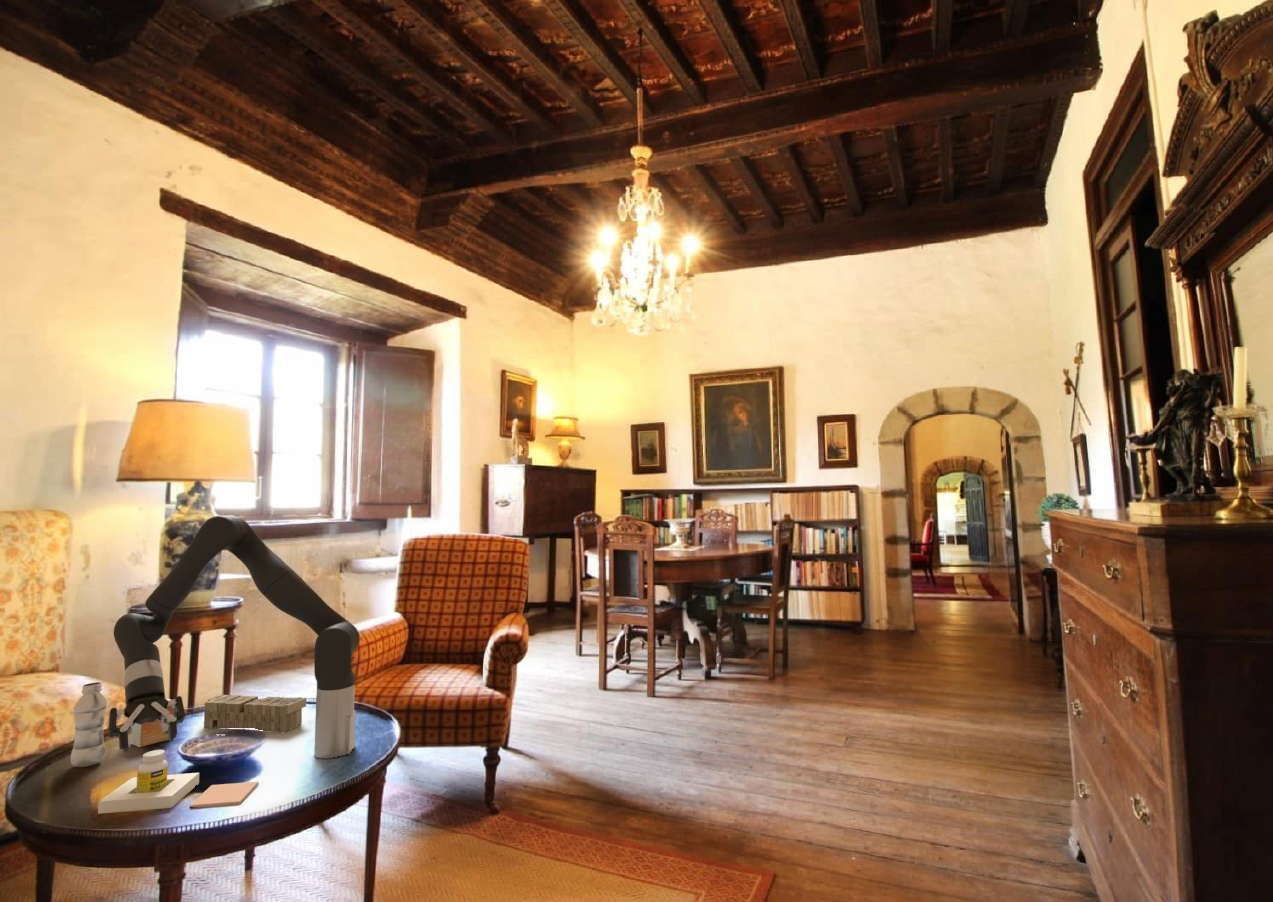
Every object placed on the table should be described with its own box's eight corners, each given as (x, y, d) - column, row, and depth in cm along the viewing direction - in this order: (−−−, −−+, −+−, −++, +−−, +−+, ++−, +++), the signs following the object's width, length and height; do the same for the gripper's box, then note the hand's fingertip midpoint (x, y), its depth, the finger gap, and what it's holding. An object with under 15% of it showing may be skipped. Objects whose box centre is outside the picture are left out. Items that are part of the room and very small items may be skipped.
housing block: (198, 783, 149) (199, 772, 149) (171, 807, 137) (172, 795, 137) (131, 788, 146) (132, 777, 147) (98, 813, 135) (98, 801, 135)
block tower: (199, 731, 186) (287, 733, 181) (199, 702, 187) (288, 703, 182) (220, 722, 194) (306, 724, 189) (221, 694, 194) (306, 695, 190)
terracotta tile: (258, 783, 149) (258, 781, 149) (240, 803, 139) (240, 801, 139) (211, 787, 147) (211, 784, 147) (189, 808, 137) (189, 805, 137)
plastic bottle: (106, 764, 160) (111, 683, 161) (70, 773, 155) (76, 689, 156) (102, 757, 164) (107, 679, 166) (67, 765, 159) (73, 684, 161)
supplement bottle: (149, 804, 139) (152, 758, 139) (129, 802, 140) (131, 756, 140) (172, 793, 144) (174, 749, 145) (152, 791, 145) (155, 747, 146)
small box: (139, 748, 171) (141, 708, 171) (130, 744, 174) (132, 704, 174) (173, 738, 177) (175, 700, 178) (164, 734, 180) (166, 697, 181)
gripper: (108, 680, 149) (112, 743, 140) (182, 669, 159) (189, 727, 150) (104, 698, 152) (107, 761, 143) (176, 686, 162) (183, 744, 153)
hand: (149, 744), depth 146 cm, fingers open, 8 cm apart
